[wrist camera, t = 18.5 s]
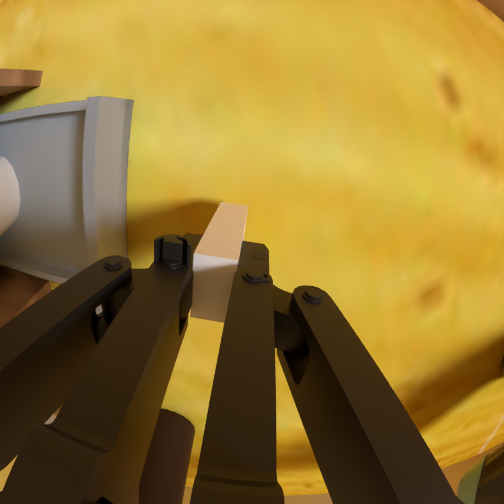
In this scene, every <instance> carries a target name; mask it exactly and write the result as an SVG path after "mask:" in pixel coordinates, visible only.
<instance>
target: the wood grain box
mask: <svg viewBox="0 0 504 504" xmlns="http://www.w3.org/2000/svg"><path fill="white" fill-rule="evenodd" d="M41 75H42V71H36V70H21V69H0V97H1V96H4V95H7V94H10V93H14V92H17V91H21V90H25V89H29V88H33V87H37V86H40V82H41ZM49 292H51V288H50V284H49V281H46V280H42V279H39V278H36V277H33V276H30V275H27V274H24V273H21V272H18V271H15V270H12V269H9V268H6V267H3V266H0V328H1V327H2V326H3V325H5V324H6V323H7V322H9V321H10V320H11V319H13V318H14V317H15V316H17V315H18V314H19V313H21V312H22V311H24V310H25V309H26V308H28V307H29V306H30V305H32V304H33V303H35V302H36V301H38V300H39V299H40V298H42V297H43V296H45V295H46V294H48V293H49Z"/></svg>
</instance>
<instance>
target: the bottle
mask: <svg viewBox="0 0 504 504" xmlns="http://www.w3.org/2000/svg"><path fill="white" fill-rule="evenodd" d="M194 434H195V429H194V426H193V425H192V423H191V422H190V421H189V420H187V419H186V418H184V417H183V416H181V415H179V414H176V413H173V412H170V411H167V410H162V409H160V412H159V415H158V419H157V422H156V425H155V429H154V432H153V436H152V439H151V443H150V446H149V450H148V453H147V457H146V460H145V464H144V467H143V471H142V475H141V478H140V483H139V504H182V501H183V496H184V489H185V484H186V478H187V473H188V467H189V462H190V456H191V451H192V445H193V440H194Z"/></svg>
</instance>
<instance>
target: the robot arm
mask: <svg viewBox="0 0 504 504" xmlns="http://www.w3.org/2000/svg"><path fill="white" fill-rule="evenodd" d="M247 212H248V206H246V205H239V204H233V203H226V202H221V203H220V205H219V207H218V209H217V211H216V212H215V214H214V216H213V218H212V220H211V222H210V223H209V225H208V227H207V229H206V231H205V233H204V235H197V234H190V233H187V234H185V235H183V236H180V235H171V234H170V235H162V236H159V237H157V238H156V239H154V262H153V263H152V265H151V266H150V267H149V268H146V269H132V268H131V262H130V260H129V259H127V258H125V257H122V256H119V255H116V256H115V255H111V256H108V257H104V258H102V259H100V260H98V261H97V262H95V263H93V264H92V265H90V266H89V267H87V268H86V269H84V270H82V271H81V272H79V273H78V274H76V275H75V276H73V277H72V278H70V279H69V280H67V281H65V282H64V283H62V284H61V285H59V286H58V287H56V288H55V289H54V290H52V291H51V292H49V293H48V294H46V295H45V296H43V297H42V298H40V299H39V300H38V301H36V302H35V303H33V304H32V305H30V306H29V307H28V308H26V309H25V310H24V311H22V312H21V313H19V314H18V315H17V316H15V317H14V318H13V319H11V320H10V321H9V322H7V323H6V324H5V325H3V326H2V327H1V328H0V471H1V470H2V469H4V468H5V467H6V466H7V465H8V464H9V463H10V462H11V461H12V460H13V459H14V458H15V457H16V456H17V455H18V456H17V458H16V460H15V462H14V465H13V467H12V469H11V471H10V474H9V476H8V478H7V481H6V483H5V486H4V488H3V491H1V492H0V504H139V483H140V478H141V475H142V471H143V467H144V464H145V460H146V457H147V453H148V450H149V446H150V443H151V439H152V436H153V432H154V429H155V425H156V422H157V419H158V415H159V412H160V409H161V406H162V402H163V399H164V396H165V393H166V390H167V386H168V383H169V380H170V377H171V374H172V371H173V368H174V365H175V362H176V359H177V355H178V352H179V349H180V346H181V343H182V341H183V338H184V335H185V332H186V329H187V326H188V313H189V311H190V308H191V315H190V317H195V318H200V319H206V320H212V321H218V322H224V328H223V333H222V338H221V344H220V349H219V354H218V359H217V365H216V370H215V375H214V381H213V386H212V392H211V397H210V402H209V408H208V413H207V419H206V424H205V430H204V436H203V441H202V447H201V453H200V458H199V464H198V470H197V474H196V477H195V480H194V484H193V489H192V495H191V501H190V504H284V494H283V490H282V487H281V486H280V485H279V483H278V481H277V474H276V379H275V348H277V355H278V358H279V361H280V363H281V366H282V369H283V372H284V374H285V377H286V380H287V383H288V385H289V388H290V391H291V393H292V396H293V399H294V402H295V404H296V407H297V410H298V412H299V415H300V418H301V420H302V423H303V426H304V428H305V431H306V434H307V436H308V439H309V442H310V444H311V447H312V450H313V452H314V455H315V458H316V460H317V463H318V466H319V468H320V471H321V473H322V476H323V479H324V481H325V484H326V487H327V489H328V492H329V494H330V497H331V499H332V502H333V504H504V444H503V445H502V446H500V447H499V448H498V449H496V450H495V451H494V452H492V453H491V454H487V455H486V456H485V457H484V458H483V459H482V460H481V461H479V462H478V463H477V464H475V465H474V466H472V467H471V468H470V469H468V470H467V471H466V472H465V473H464V474H463V476H462V478H461V480H460V482H459V486H458V490H457V496H455V494H454V492H453V490H452V488H451V486H450V484H449V483H448V481H447V479H446V477H445V476H444V474H443V472H442V470H441V468H440V467H439V465H438V463H437V461H436V460H435V458H434V456H433V454H432V453H431V451H430V449H429V448H428V446H427V444H426V443H425V441H424V439H423V438H422V436H421V434H420V433H419V431H418V429H417V428H416V426H415V424H414V423H413V421H412V419H411V418H410V416H409V415H408V413H407V411H406V410H405V408H404V406H403V405H402V403H401V402H400V400H399V399H398V397H397V395H396V394H395V392H394V391H393V389H392V388H391V386H390V384H389V383H388V381H387V380H386V378H385V377H384V375H383V374H382V372H381V371H380V369H379V367H378V366H377V364H376V363H375V361H374V360H373V358H372V357H371V355H370V354H369V352H368V351H367V349H366V348H365V346H364V345H363V343H362V342H361V340H360V339H359V337H358V336H357V335H356V333H355V332H354V330H353V329H352V327H351V326H350V324H349V323H348V321H347V320H346V318H345V317H344V316H343V314H342V313H341V311H340V310H339V308H338V307H337V306H336V304H335V303H334V301H333V300H332V298H331V297H330V296H329V295H328V294H327V293H326V292H325V291H323V290H321V289H320V288H318V287H315V286H306V285H305V286H299V287H297V288H295V289H294V291H293V294H292V293H289V292H286V291H284V290H281V289H279V288H277V287H276V286H275V285H273V280H272V277H271V276H270V275H269V250H268V248H267V247H266V246H265V245H264V244H260V243H254V242H247V241H243V238H244V231H245V225H246V218H247ZM99 305H101V307H102V312H101V313H99V314H96V310H95V309H96V308H97V307H98V306H99ZM501 372H502V374H503V375H504V359H503V362H502V365H501ZM62 404H63V405H62ZM61 405H62V407H61V409H60V411H59V413H58V414H57V416H56V418H55V419H54V421H53V422H52V423H50V424H45V423H46V422H47V420H48V419H49V418H50V417H51V416H52V415H53V414H54V413H55V412H56V410H57V409H58V408H59V407H60V406H61Z"/></svg>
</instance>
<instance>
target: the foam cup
mask: <svg viewBox="0 0 504 504" xmlns="http://www.w3.org/2000/svg"><path fill="white" fill-rule="evenodd" d="M19 207H20V193H19V183H18V180H17V177H16V175H15V172H14V169H13V167H12V166H11V164H10V163H9V162H8V161H7V159H6V158H4V157H0V236H1V235H2V234H3V233H4V232H5V231H7V230H8V229H9V227H10V226H12V225H13V224H14V222H15V220H16V218H17V217H18V214H19Z"/></svg>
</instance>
